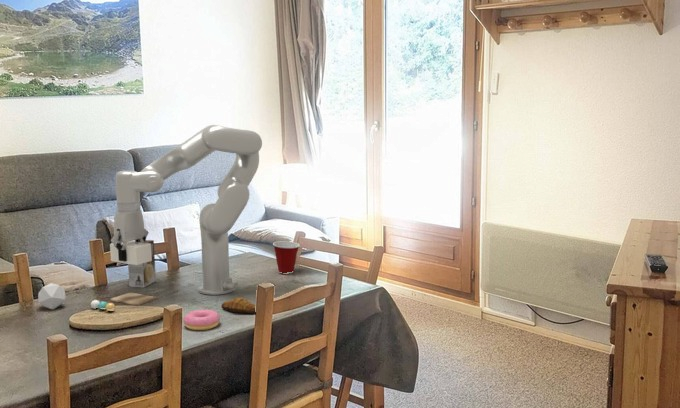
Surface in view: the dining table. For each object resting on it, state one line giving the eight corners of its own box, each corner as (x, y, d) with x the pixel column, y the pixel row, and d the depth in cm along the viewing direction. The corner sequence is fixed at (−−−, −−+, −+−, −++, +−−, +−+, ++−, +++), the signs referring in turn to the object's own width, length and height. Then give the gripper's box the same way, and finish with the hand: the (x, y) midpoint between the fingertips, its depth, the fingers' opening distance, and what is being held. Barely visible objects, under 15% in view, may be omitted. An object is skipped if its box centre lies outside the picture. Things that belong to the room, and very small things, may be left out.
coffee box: (140, 280, 254) (138, 239, 251) (156, 281, 252) (154, 240, 250) (128, 287, 245) (126, 244, 242) (144, 287, 244) (142, 245, 241)
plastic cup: (299, 276, 259) (298, 246, 257) (271, 276, 259) (271, 246, 257) (301, 269, 270) (300, 240, 268) (274, 269, 270) (274, 240, 268)
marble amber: (117, 311, 217) (116, 302, 216) (110, 313, 214) (109, 304, 214) (110, 309, 218) (110, 301, 218) (103, 312, 215) (103, 303, 215)
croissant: (216, 312, 216) (215, 297, 215) (228, 306, 222) (227, 291, 221) (251, 317, 210) (251, 302, 209) (262, 311, 216) (262, 296, 215)
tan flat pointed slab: (157, 298, 230) (157, 297, 230) (138, 305, 222) (137, 304, 222) (129, 293, 236) (129, 292, 236) (110, 300, 228) (110, 298, 228)
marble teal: (110, 309, 218) (109, 300, 218) (102, 312, 216) (102, 303, 215) (103, 308, 220) (102, 299, 219) (96, 310, 217) (95, 302, 216)
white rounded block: (151, 260, 227) (151, 243, 227) (136, 265, 221) (135, 247, 220) (126, 256, 233) (125, 240, 232) (110, 261, 227) (109, 243, 226)
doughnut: (176, 325, 203) (176, 312, 202) (207, 317, 210) (207, 305, 210) (196, 334, 195) (195, 321, 194) (227, 325, 203) (227, 312, 202)
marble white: (102, 308, 220) (102, 299, 219) (95, 310, 217) (94, 301, 217) (96, 306, 221) (95, 298, 221) (88, 309, 219) (88, 300, 218)
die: (71, 308, 221) (69, 282, 226) (54, 303, 214) (52, 275, 218) (50, 316, 223) (49, 289, 227) (32, 311, 215) (31, 283, 219)
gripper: (139, 203, 234) (141, 252, 236) (100, 210, 219) (103, 262, 221) (155, 204, 230) (157, 254, 233) (117, 211, 215) (120, 265, 218)
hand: (131, 258), depth 227 cm, fingers closed on white rounded block, 7 cm apart
